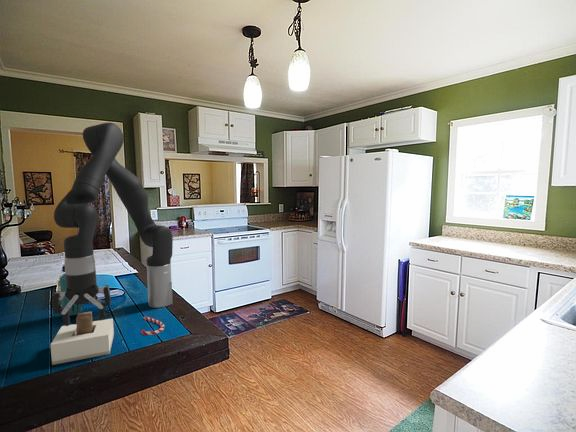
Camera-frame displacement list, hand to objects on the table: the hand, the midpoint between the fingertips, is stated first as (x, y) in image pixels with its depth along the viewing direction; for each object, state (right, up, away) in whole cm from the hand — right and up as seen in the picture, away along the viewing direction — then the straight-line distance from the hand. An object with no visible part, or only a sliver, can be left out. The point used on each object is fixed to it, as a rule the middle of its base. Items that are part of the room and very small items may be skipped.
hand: (84, 322), depth 93 cm
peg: (0, -8, +1) cm, 8 cm away
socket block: (0, -9, +1) cm, 9 cm away
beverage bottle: (-20, -6, +24) cm, 32 cm away
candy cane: (+12, -8, +16) cm, 22 cm away
